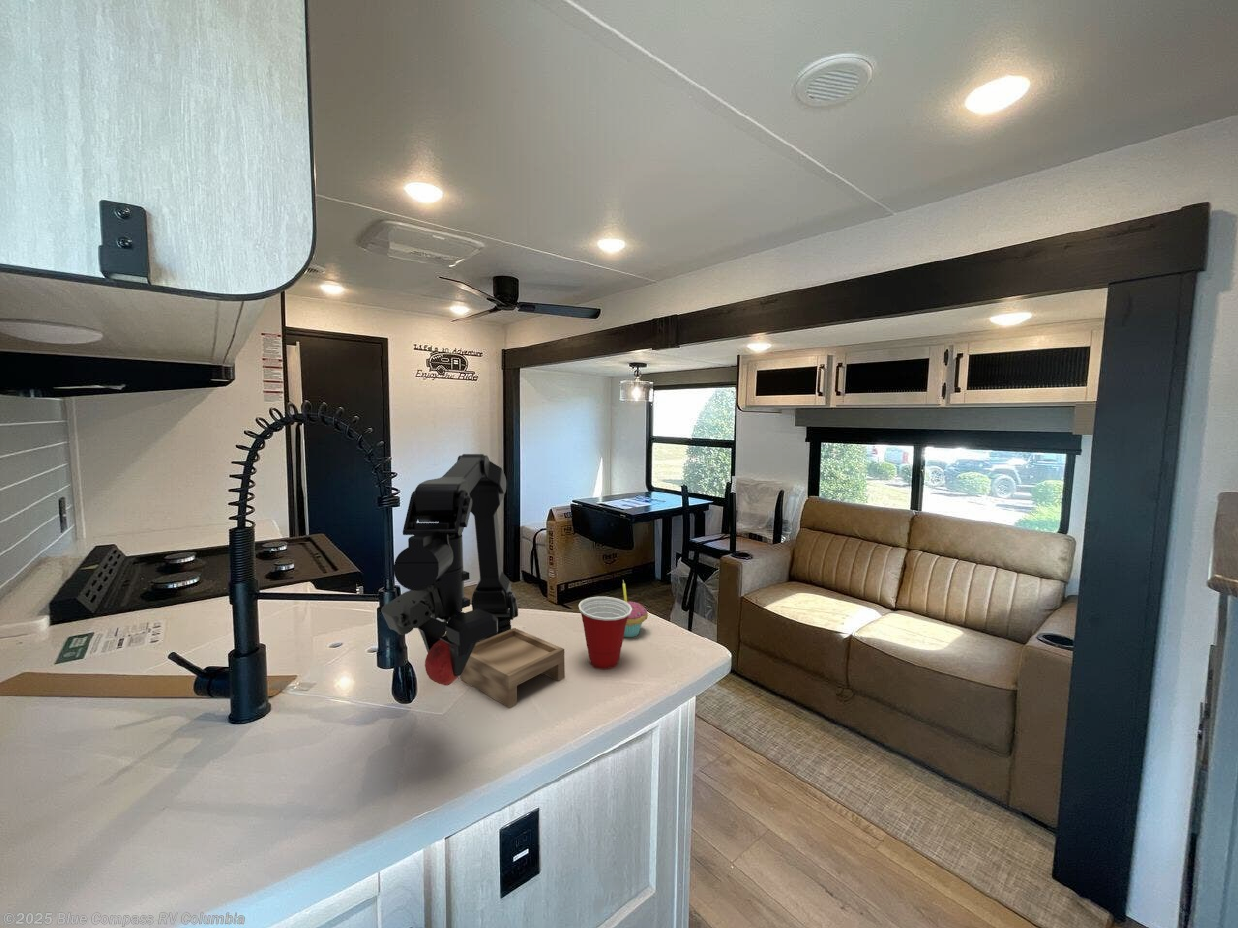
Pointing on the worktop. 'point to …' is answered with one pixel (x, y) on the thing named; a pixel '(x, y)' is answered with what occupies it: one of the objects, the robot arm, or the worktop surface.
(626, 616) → the plastic cup
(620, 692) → the worktop surface
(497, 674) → the shelf
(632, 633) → the cupcake
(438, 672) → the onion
